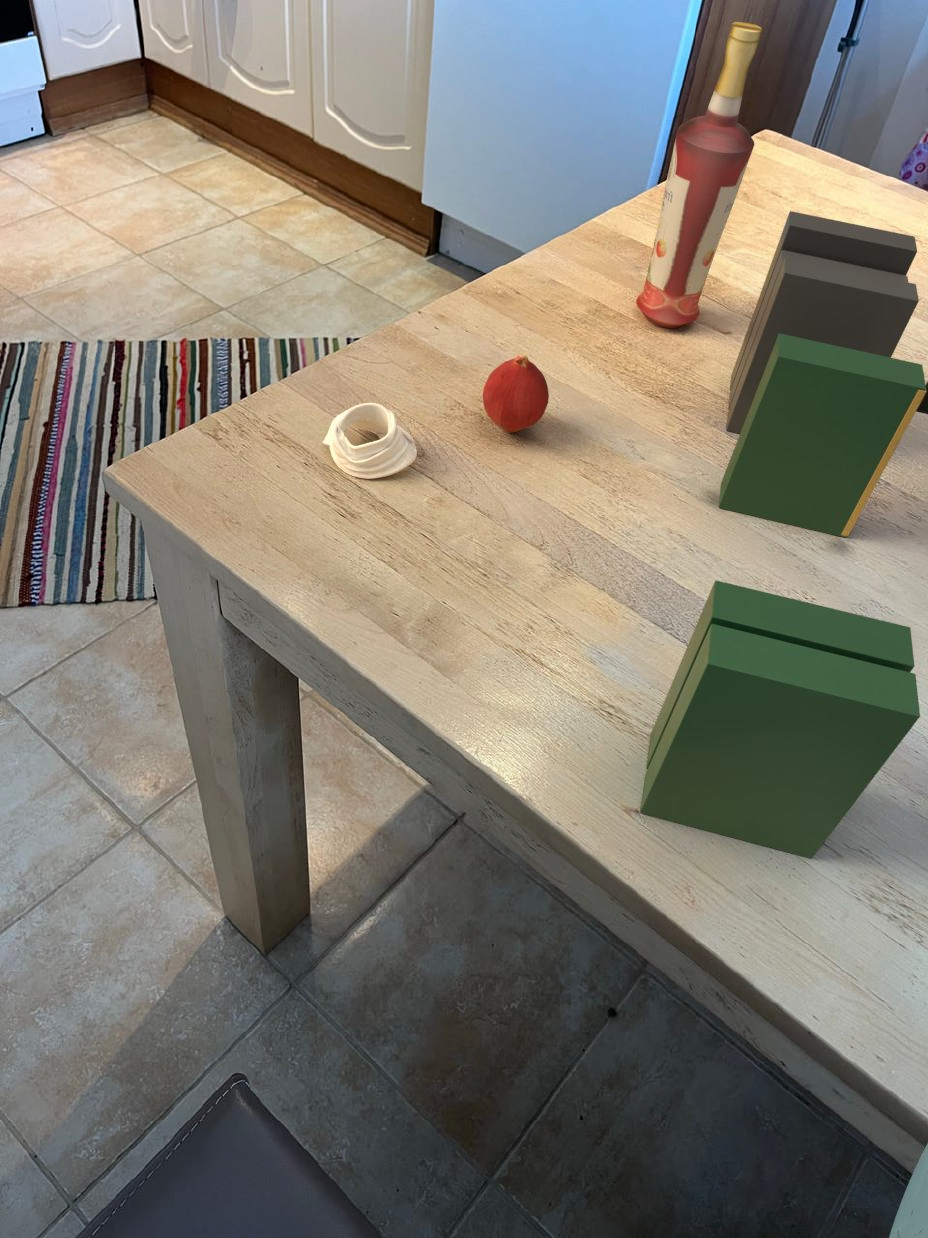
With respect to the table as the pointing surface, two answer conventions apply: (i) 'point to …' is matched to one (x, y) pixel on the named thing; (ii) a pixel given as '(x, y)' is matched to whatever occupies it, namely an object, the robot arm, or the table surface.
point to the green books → (778, 718)
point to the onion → (515, 394)
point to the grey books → (826, 297)
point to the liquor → (700, 191)
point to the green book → (820, 434)
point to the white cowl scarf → (374, 456)
